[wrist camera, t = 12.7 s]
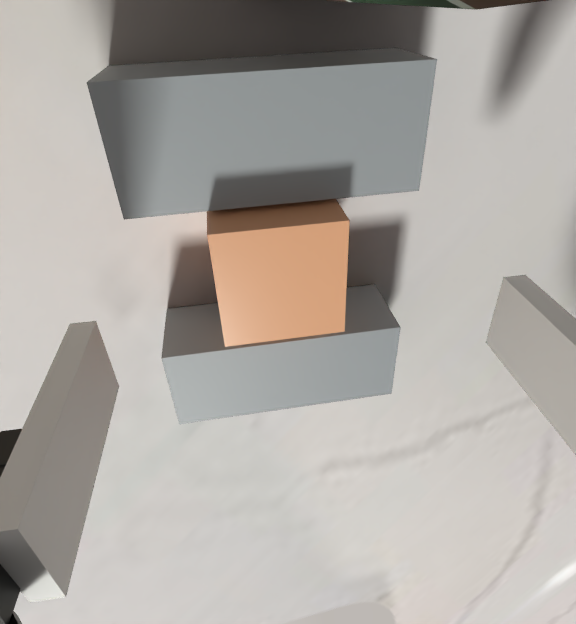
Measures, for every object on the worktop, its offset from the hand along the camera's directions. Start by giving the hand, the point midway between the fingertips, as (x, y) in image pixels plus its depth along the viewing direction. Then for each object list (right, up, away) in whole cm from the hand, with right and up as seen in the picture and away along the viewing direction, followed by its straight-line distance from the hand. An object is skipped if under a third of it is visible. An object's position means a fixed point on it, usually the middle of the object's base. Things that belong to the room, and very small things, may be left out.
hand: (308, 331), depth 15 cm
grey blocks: (-1, +4, +5) cm, 6 cm away
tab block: (-2, +4, +5) cm, 7 cm away
